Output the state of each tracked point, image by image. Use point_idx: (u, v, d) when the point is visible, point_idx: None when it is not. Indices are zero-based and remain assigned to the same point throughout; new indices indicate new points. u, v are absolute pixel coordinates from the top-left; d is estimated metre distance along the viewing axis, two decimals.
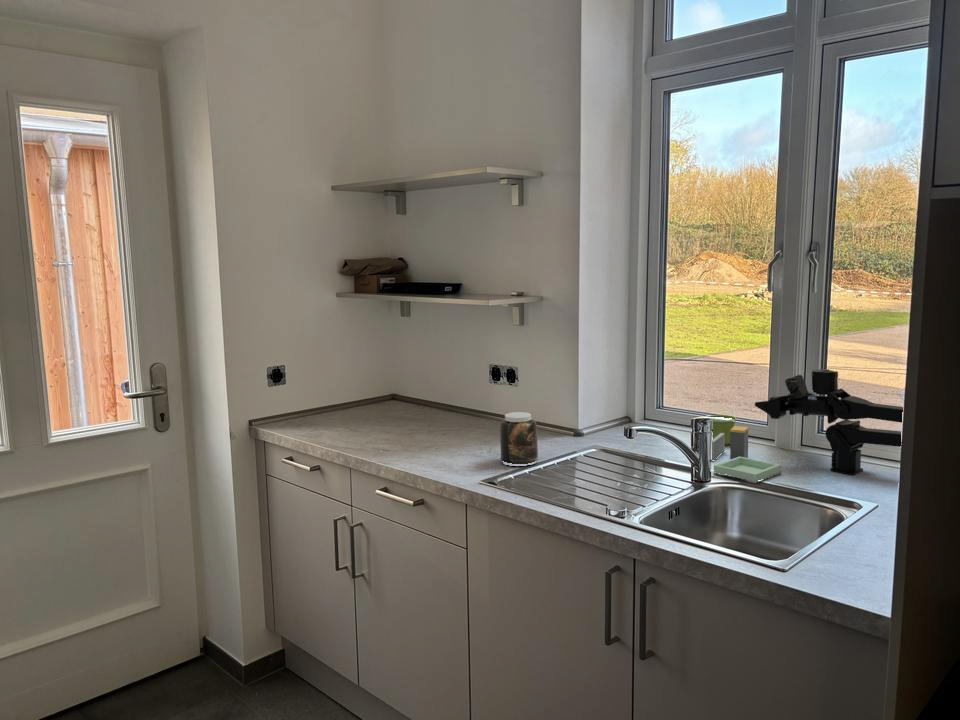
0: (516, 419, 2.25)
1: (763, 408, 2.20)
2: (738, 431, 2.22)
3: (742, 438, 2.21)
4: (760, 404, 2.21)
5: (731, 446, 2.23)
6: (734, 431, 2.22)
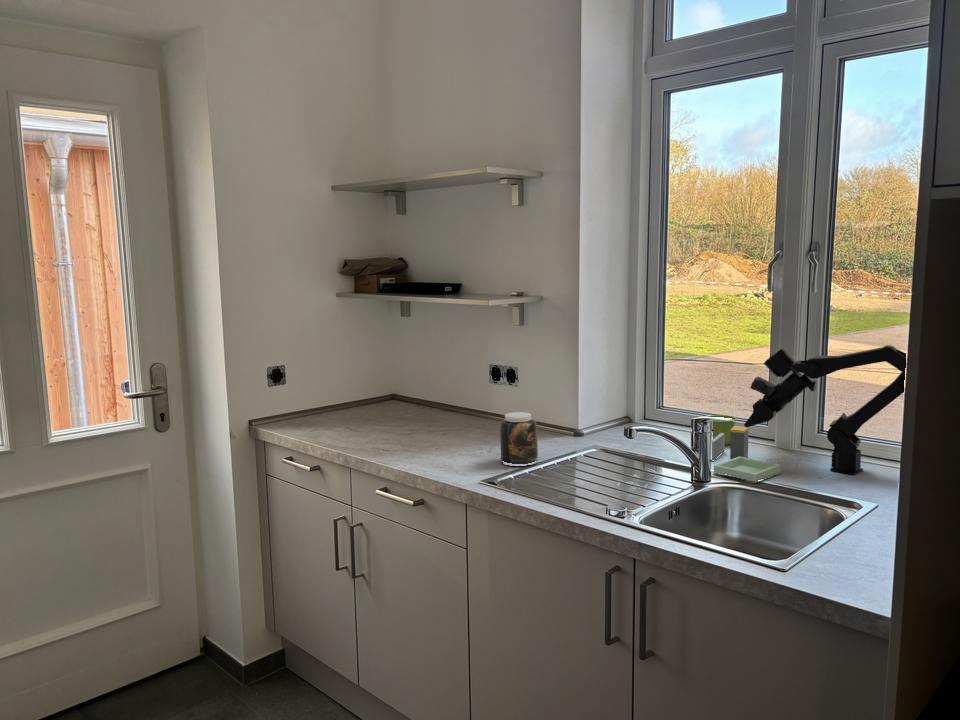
0: (516, 419, 2.25)
1: (754, 422, 2.16)
2: (738, 431, 2.22)
3: (742, 438, 2.21)
4: (749, 421, 2.17)
5: (731, 446, 2.23)
6: (734, 431, 2.22)
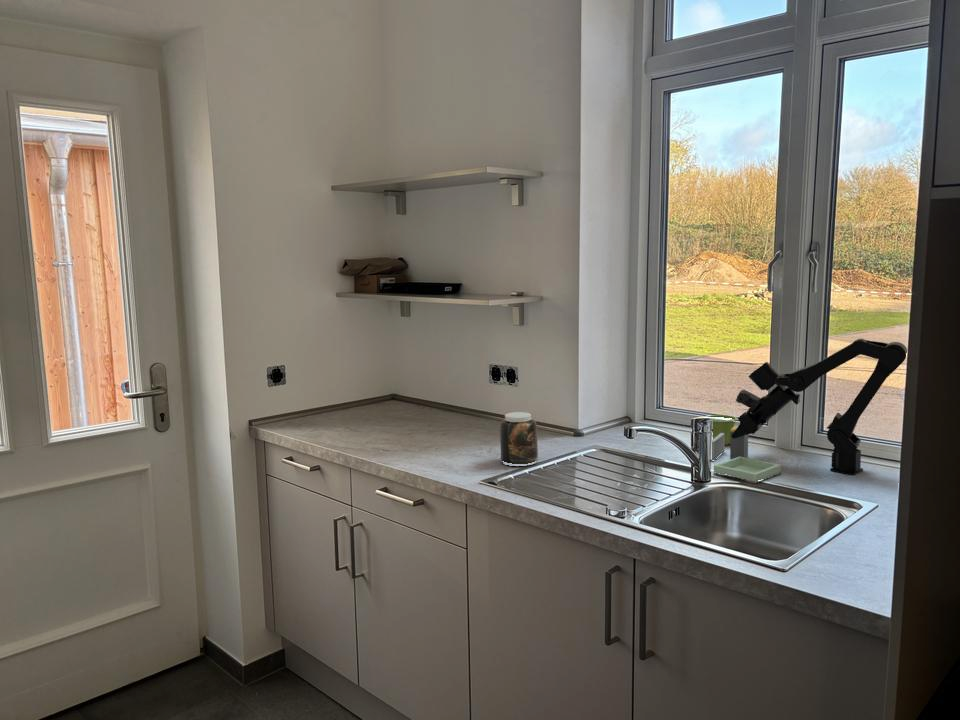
0: (516, 419, 2.25)
1: (741, 433, 2.20)
2: None
3: (742, 438, 2.21)
4: (736, 433, 2.21)
5: (731, 446, 2.23)
6: None
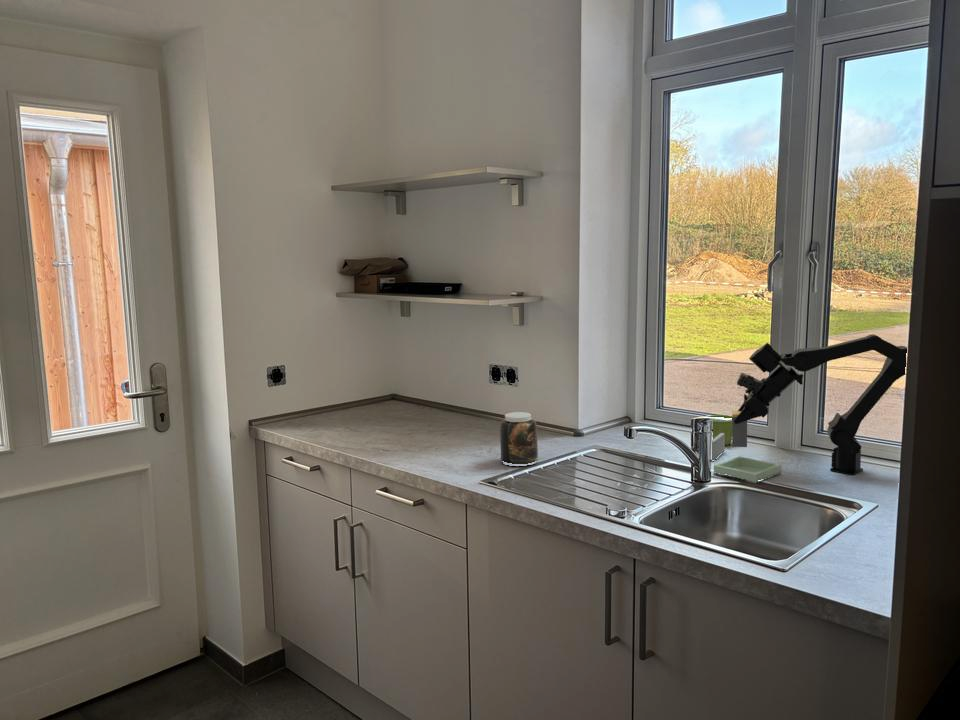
0: (516, 419, 2.25)
1: (745, 418, 2.12)
2: None
3: (745, 423, 2.13)
4: (740, 417, 2.13)
5: (733, 432, 2.15)
6: (736, 416, 2.14)
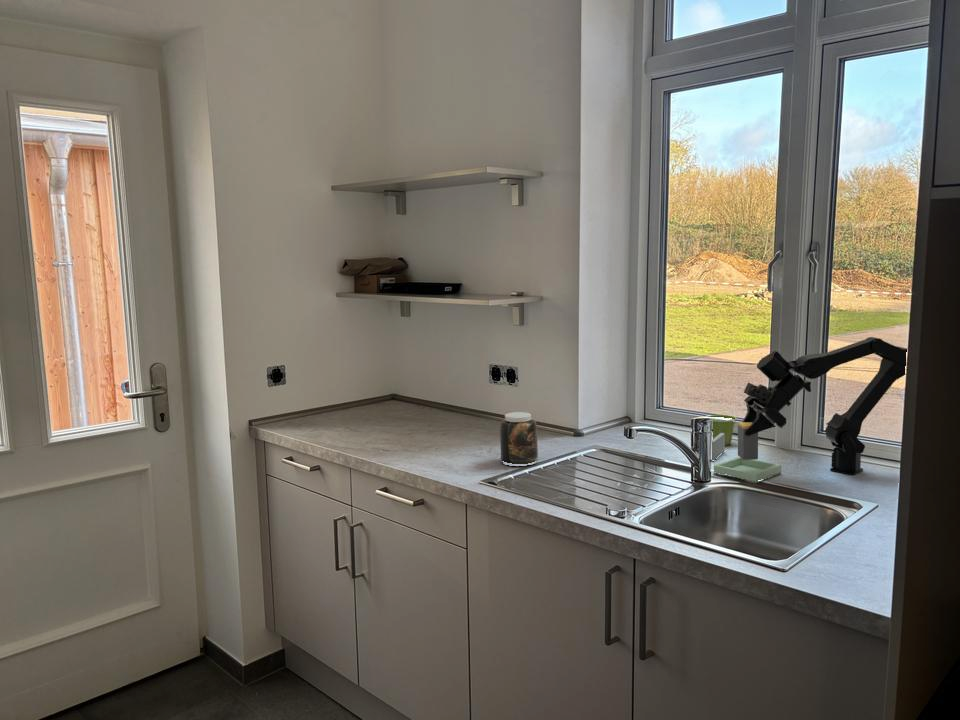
0: (516, 419, 2.25)
1: (758, 429, 2.04)
2: None
3: (756, 434, 2.06)
4: (752, 429, 2.05)
5: (744, 444, 2.06)
6: (747, 428, 2.06)
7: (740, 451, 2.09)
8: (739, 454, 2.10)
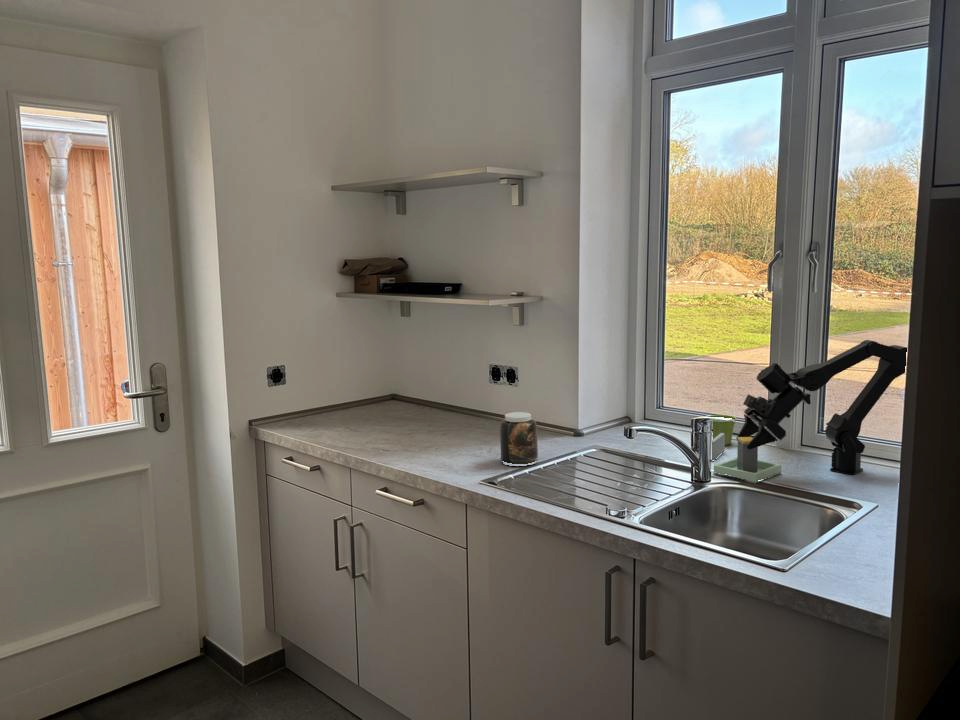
0: (516, 419, 2.25)
1: (760, 443, 2.03)
2: None
3: (755, 449, 2.06)
4: (754, 443, 2.03)
5: (744, 459, 2.07)
6: (747, 443, 2.06)
7: (739, 466, 2.10)
8: (738, 468, 2.11)
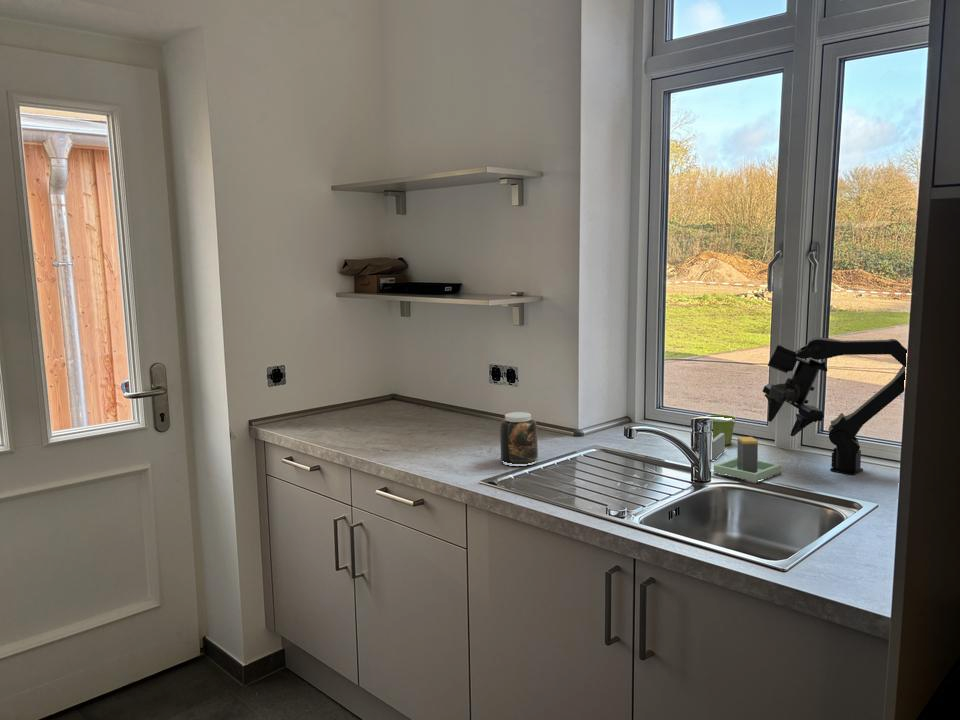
0: (516, 419, 2.25)
1: (801, 427, 2.09)
2: (751, 442, 2.06)
3: (755, 449, 2.06)
4: (796, 430, 2.09)
5: (744, 459, 2.07)
6: (747, 443, 2.06)
7: (739, 466, 2.10)
8: (738, 468, 2.11)
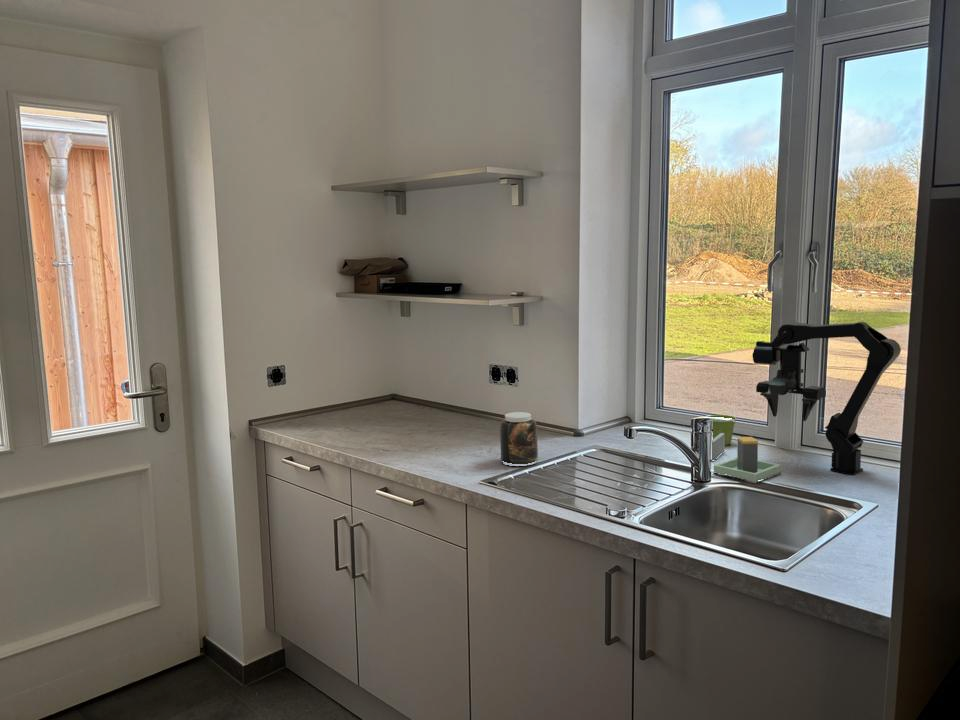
0: (516, 419, 2.25)
1: (810, 409, 2.14)
2: (751, 442, 2.06)
3: (755, 449, 2.06)
4: (807, 413, 2.14)
5: (744, 459, 2.07)
6: (747, 443, 2.06)
7: (739, 466, 2.10)
8: (738, 468, 2.11)
